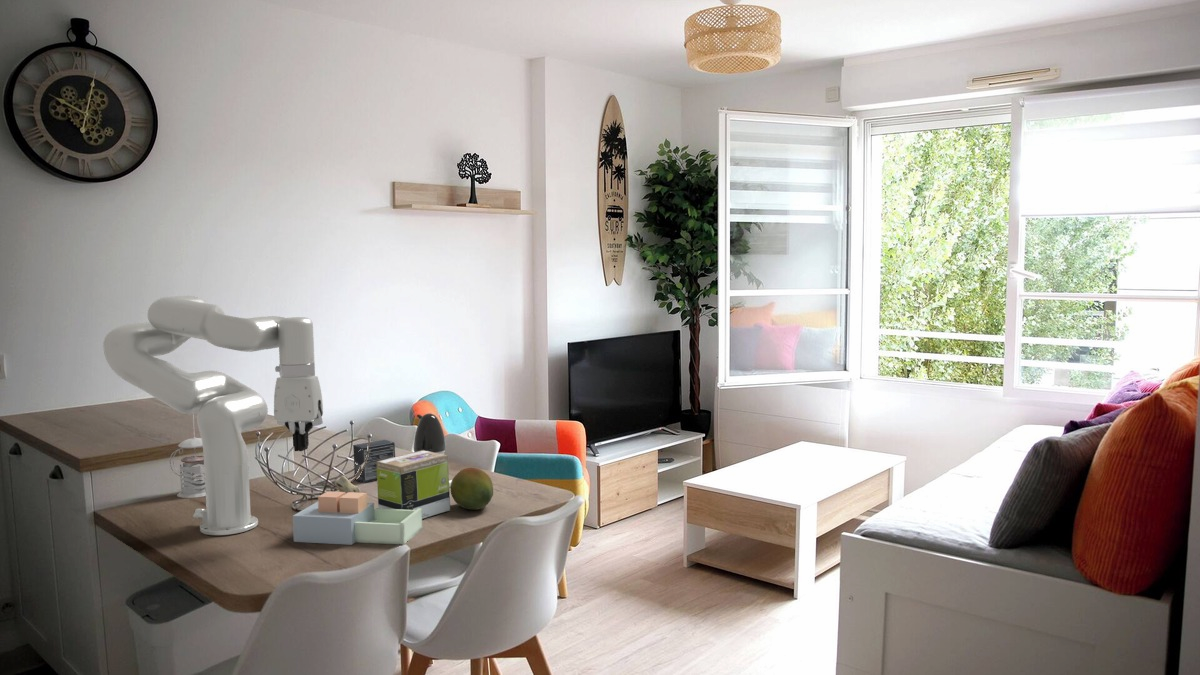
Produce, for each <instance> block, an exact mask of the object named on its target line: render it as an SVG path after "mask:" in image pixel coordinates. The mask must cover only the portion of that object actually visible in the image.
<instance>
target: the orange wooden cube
mask: <svg viewBox="0 0 1200 675" xmlns="http://www.w3.org/2000/svg"><path fill="white" fill-rule="evenodd" d="M345 494H346V492H340V491H330V490H329V491H328V490H327V491H326V492H324V493H322V494H320V495H318V496H317V502H318V509H319V512H339V511H340V502H339V498H340V497H341V496H343V495H345Z"/></svg>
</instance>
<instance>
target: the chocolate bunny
mask: <svg viewBox="0 0 1200 675" xmlns="http://www.w3.org/2000/svg"><path fill="white" fill-rule="evenodd" d="M334 485H335V486H336V488H337V489H338V492H346V493H348V492H356V493H362V491H361V489H360V488H359V486H357V485H354V484H353V483H352V482H351V481H350V480H349V479H348V478H347V477H346V476H345V475H340V477H339V479H337V480H335V481H334Z"/></svg>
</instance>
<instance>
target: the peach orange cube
mask: <svg viewBox="0 0 1200 675" xmlns="http://www.w3.org/2000/svg"><path fill="white" fill-rule="evenodd" d="M367 493H368V492H361V493H356V492H348V493H346V494H345V495H343V496H341V497H340V498H339V502H340V513H360V512H361V511H363V510H364V509H366V508H367V503H368V494H367Z"/></svg>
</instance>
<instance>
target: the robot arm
mask: <svg viewBox="0 0 1200 675" xmlns="http://www.w3.org/2000/svg"><path fill="white" fill-rule="evenodd" d="M147 318H148V321H147V322H137V323H136V322H135V323H129V324H127V323H126V324H122V325H121V326H117V327H115V328H113V329H111V330H110V331H109V332H108V333H107V334H106V335H105V337H104V339H103V343H102V344H103V346H102V348H103V349H102V350H103V354H104V358H105V360H106V362H107V365H108V366H109V367H110V368H111V370H112V371H113V372H114V374H116V375H117V376H118V377H119V378H121V379H122V380H124V381H126V382H127V383H129V384H131V385H133V386H134V387H136V388H138V389H140V390H142V391H144V392H146V393H147V394H149V395H150V396H152V397H153V398H155V399H157V400H158V401H160V402H162V403H164V405H166V406H168V407H170V408H172V409H173V410H175V411H177V412H179V413H180V414H185V415H193V413H194V414H197V417H196V418H197V419H196V420H197V427H198V431H199V435H200V438H201V439H202V445H203V447H202V450H203V454H202V455H204V465H203V466H204V469H205V479H204V480H205V490H206V496H205V505H206V508H198V507H197V508H196V509H195V510H194V513H193V515H192V518H193V519H195V520H202V523H201V524H200V525H199V531H200V533H201V534H204V535H207V536H229V535H230V536H231V535H236V534H239V533H243V532H248V531H250V530H252V529H254V528H256V527H257V526H258V524H259V520H258V519H259V518H257V517H256V516H254V515H252V514H251V497H250V496H251V494H250V472H249V470H250V467H249V453H248V447H247V444H246V442H245V440H244V438H243V435H242V433H243V432H247V431H249V430H252V429H255V428H257V427H259V426H260V425H262V424H263V423H264V422H265V421H266V419H267V417H268V413H269V408H268V404H267V402H266V401H265V399H264V398H263V396H262V395H261V394H260V393H258V392H257V390H254V389H252V388H251V387H249V386H247V385H245V384H244V383H242V382H240V381H239V380H237V379H235V378H233V377H231V376H230V375H228V374H226V373H225V372H224V373H223V372H221V371H218V370H204V371H199V372H188V371H185V370H183V369H181V368H179V367H178V366H175V365H174V364H172V363H171V362H168V361H166V360H163V359H162V358H158V357H159V356H163V355H167V354H170V353H172V352H173V351H175V350H177V349H178V348H179V347H180V346H182V345H183V344H184V343H186V342H187V341H188V340H190V339H191V338H195V339H197V340H198V339H199V340H204V341H206V342H208V343H209V344H211V345H213V346H216V347H219V348H223V349H228V350H233V351H237V352H238V351H239V352H246V353H247V352H248V353H251V352H257V351H258V352H259V351H264V350H271V349H276V348H278V352H279V353H278V355H279V357H278V360H279V364H278V365H276V366H275V367H274V369H275V370H274V371H275V372H277V373H279V377H277V378H276V381H275V387H274V394H273V416H274V419H275V420H276V423H277V424H278V425H280V426H284V427H286V428H287V429H288V430H289V434H291V435H292V446H293V448H294V449H293V450H294V452H303V451H305V450H308V449H309V447H308V446H309V445H310V443H309V442H310V441H309V433H310V431H311V430H312V429H313V428H314V427H317V426H321V425H323V423H324V421H323V414H324V407H323V406H324V404H323V395H322V389H321V388H322V387H321V385H320V381H319V376H318V375H317V376H316V367H315V366H316V365H315V346H314V345H315V342H314V341H315V340H314V339H315V338H314V325H313V321H312V320H311V318H309V317H303V316H302V317H300V316H299V317H298V316H297V317H285V316H284V317H282V316H276V315H270V316H268V315H267V316H257V317H248V318H246V317H237V316H231V315H226V314H225V312H224V310H223V308H222V307H220V306H219V305H217V304H213V303H207V302H206V301H204V300H203V299H202V298H200V297H198V296H195V295H180V296H179V295H178V296H165V297H160V298H159V299H156V300H154V301H153V302H152V303H151V304H150V305H149V307H148V309H147Z"/></svg>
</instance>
